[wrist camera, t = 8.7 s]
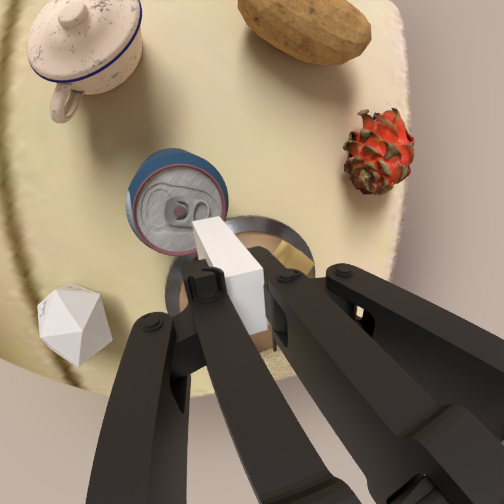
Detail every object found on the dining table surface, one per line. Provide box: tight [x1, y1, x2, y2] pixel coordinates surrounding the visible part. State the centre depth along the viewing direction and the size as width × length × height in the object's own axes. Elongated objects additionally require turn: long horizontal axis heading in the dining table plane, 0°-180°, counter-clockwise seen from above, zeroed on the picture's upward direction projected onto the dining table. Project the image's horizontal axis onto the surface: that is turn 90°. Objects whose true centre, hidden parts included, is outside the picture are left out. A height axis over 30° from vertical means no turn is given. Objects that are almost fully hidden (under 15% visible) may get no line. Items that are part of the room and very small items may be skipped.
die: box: [38, 283, 113, 367], centre depth 25 cm, size 8×9×10 cm
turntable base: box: [165, 215, 315, 317], centre depth 34 cm, size 19×19×1 cm
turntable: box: [179, 231, 315, 353], centre depth 32 cm, size 16×16×5 cm
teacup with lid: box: [27, 0, 142, 123], centre depth 15 cm, size 12×9×12 cm
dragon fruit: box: [343, 103, 414, 195], centre depth 29 cm, size 8×8×12 cm
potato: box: [238, 0, 371, 65], centre depth 20 cm, size 10×14×8 cm
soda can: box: [126, 148, 228, 256], centre depth 22 cm, size 7×7×12 cm
